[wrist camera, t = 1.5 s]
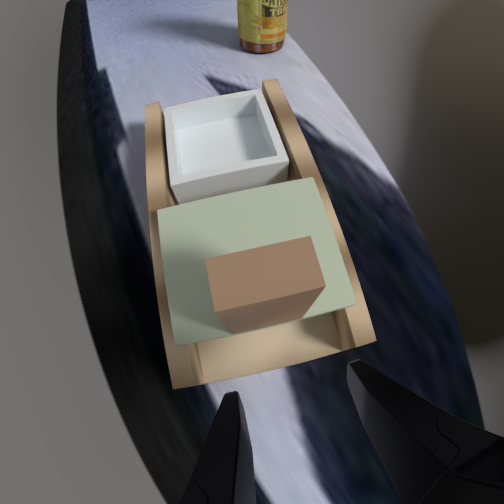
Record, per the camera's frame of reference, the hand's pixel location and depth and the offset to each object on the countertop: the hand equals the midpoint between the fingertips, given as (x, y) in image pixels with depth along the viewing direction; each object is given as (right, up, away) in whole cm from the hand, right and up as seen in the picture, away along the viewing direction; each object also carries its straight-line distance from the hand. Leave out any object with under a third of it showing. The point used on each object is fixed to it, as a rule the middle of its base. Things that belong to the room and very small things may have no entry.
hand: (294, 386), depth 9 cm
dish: (-4, +13, +18) cm, 22 cm away
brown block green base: (-1, +4, +10) cm, 11 cm away
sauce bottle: (0, +32, +26) cm, 42 cm away
